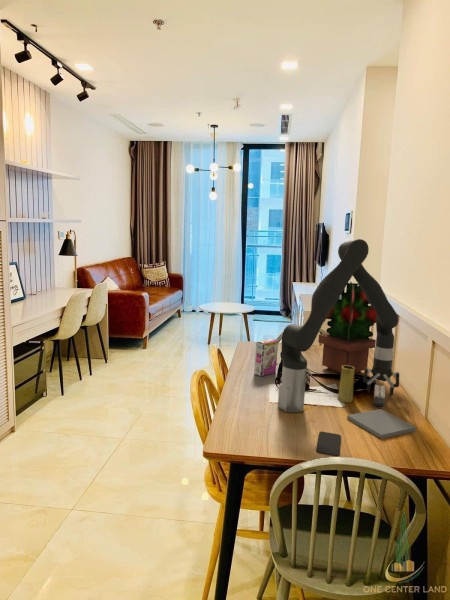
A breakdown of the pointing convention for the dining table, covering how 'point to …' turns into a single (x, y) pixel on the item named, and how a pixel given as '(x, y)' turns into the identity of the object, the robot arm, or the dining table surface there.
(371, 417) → the charcoal board
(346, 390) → the vase
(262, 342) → the candy bar box
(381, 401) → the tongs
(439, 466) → the dining table surface
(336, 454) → the phone
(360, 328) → the potted plant
